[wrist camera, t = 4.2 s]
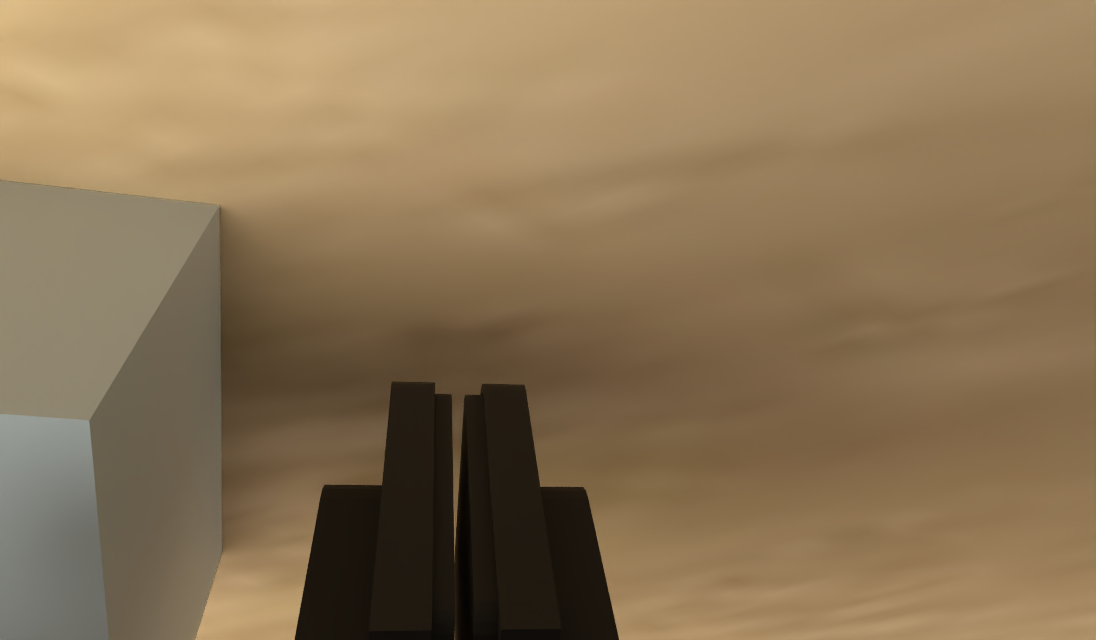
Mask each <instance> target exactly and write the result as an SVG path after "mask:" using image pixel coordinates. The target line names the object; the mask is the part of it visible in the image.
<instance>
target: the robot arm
mask: <svg viewBox="0 0 1096 640" xmlns="http://www.w3.org/2000/svg"><path fill="white" fill-rule="evenodd" d="M454 639H455V640H619V638H618V633H617V628H616V624H615V619H614V615H613V610H612V605H611V601H610V596H609V592H608V587H607V582H606V578H605V573H604V569H603V564H602V559H601V555H600V550H599V546H598V541H597V536H596V532H595V527H594V523H593V518H592V513H591V509H590V504H589V500H588V496H587V493H586V490H585V489H584V488H583V487H540V483H539V476H538V469H537V462H536V456H535V449H534V442H533V435H532V429H531V422H530V415H529V408H528V402H527V395H526V389H525V386H524V385H510V384H482V386H481V394H480V395H465V398H464V412H463V429H462V445H461V461H460V478H459V494H458V510H457V527H456V543H455V563H454V510H453V449H452V395H451V394H435V383H429V382H392V385H391V395H390V406H389V417H388V428H387V439H386V450H385V461H384V472H383V483H382V485H324V487H323V489H322V493H321V498H320V503H319V509H318V514H317V520H316V525H315V531H314V536H313V542H312V547H311V553H310V558H309V564H308V569H307V575H306V580H305V586H304V591H303V597H302V602H301V608H300V613H299V619H298V624H297V630H296V635H295V640H454Z"/></svg>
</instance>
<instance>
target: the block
mask: <svg viewBox="0 0 1096 640" xmlns="http://www.w3.org/2000/svg"><path fill="white" fill-rule="evenodd" d="M221 555H222V441H221V299H220V205H215V204H206V203H197V202H188V201H179V200H170V199H162V198H153V197H144V196H135V195H126V194H117V193H109V192H100V191H91V190H82V189H73V188H65V187H56V186H47V185H38V184H29V183H20V182H12V181H3V180H0V640H195V638H196V635H197V632H198V629H199V626H200V622H201V619H202V616H203V613H204V610H205V606H206V603H207V600H208V597H209V594H210V590H211V587H212V584H213V581H214V578H215V574H216V571H217V568H218V565H219V562H220V558H221Z"/></svg>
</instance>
